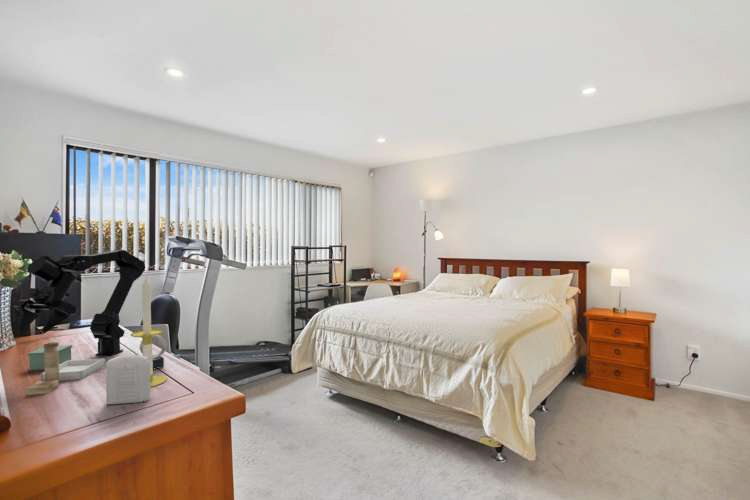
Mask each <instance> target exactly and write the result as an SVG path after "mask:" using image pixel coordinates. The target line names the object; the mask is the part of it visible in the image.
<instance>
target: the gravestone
mask: <svg viewBox="0 0 750 500" xmlns="http://www.w3.org/2000/svg"><path fill="white" fill-rule="evenodd" d="M105 373H106V374H105V378H106V380H105V381H106V383H105V384H106V386H105V387H106V388H105V389H106V390H105V391H106V392H105V393H106V394H105V395H106V404H107V405H118V404H131V403H142V402H143V401H144V402H147V400H148V401H149V400H150V399H151V387H150V359H149V357H146V356H143V355H142V354H141V355H140V354H125V355H120V356H117V357H113V358H111V359H109V360H108V361H107V363H106V368H105Z"/></svg>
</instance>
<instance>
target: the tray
mask: <svg viewBox="0 0 750 500" xmlns="http://www.w3.org/2000/svg"><path fill="white" fill-rule="evenodd" d="M103 367H105V358H103V357H102V358H86V359H71V360H68V361H66V362H64V363H62V364H60V365H59V382H60V381H72V380H82V379H85V378H86V377H88V376H90V375H92V374H93V373H94V372H96V371H97V370H99V369H101V368H103ZM40 381H45V371H43V372H41V373H40Z"/></svg>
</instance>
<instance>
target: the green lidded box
mask: <svg viewBox="0 0 750 500" xmlns="http://www.w3.org/2000/svg"><path fill="white" fill-rule="evenodd" d="M72 348H73V344H68V345H67V344H66V345H64V344H63V345H58V356H59V365H60V364H62V363H64V362H66V361H68V360H72ZM27 356H28V358H29V370H30V371H36V370H37V371H39V370H45V365H44V346H42V347H40V348H38V349H37V348H36V349H35V350H33V351H30V352H27Z"/></svg>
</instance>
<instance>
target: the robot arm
mask: <svg viewBox="0 0 750 500" xmlns="http://www.w3.org/2000/svg"><path fill="white" fill-rule="evenodd" d="M111 262H114V264H115V265H116V266H117V267H118V268H119V269H118V274H119V280H118V282H117V283H116V285H115V287H114V290H113V292H112V294H111V296H110V297H109V299H108V302H107V304H106V307H105V308H104V310H103V311H102V312H101V313H95V314H94V315H93V318H92V320H91V322H90V323H89V324H90V327H89V330H90V331H91V332H90V333H92V335H93V338H94V339H95V340H96V339H97V341H98V342H97V353H95V354H94V355H95V356H101V357H102V356H105V357H106V356H107V357H108V356H114V355H117V354H119V353H122V352H124V349H121V341H120V340H121V338H123V337H124V336H125V330H124V329H123V328H122V327H120V326H119V325H120V321H121V320H120V315H119V314H120V312H121V310H122V308H123V307H124V306H123V305H124V303H125V301H126V299H127V297H128V295H129V292H130V290H131V288H132V286H133V284H134V282H135V281H137V280H139V278H140V277H141V276H142V274H143V273H144V271H145V269H146V264H145V262H144V261H143V260H142V259H140V258H139V257H137V256H134V255H132V254H131V253H129V252H128V251H127V250H125V249H113V250H111V251H110V250H109V251H103V252H99V253H98V252H97V253H93V254H66V255H63V256H61V258H60V259H59V260H54V259H52V258H51V257H49V255H40V256H39V258H36V259H35V260H33V261H32V262H31V263H29V264H28V266H27V269H26V271H27V272H28V273H29V274H31V275H33V276H35V277H36V278H38V279H39V280H42V281H43V282H49V283H48V285H39V286H38V288H36V287H35V288H34V287H22V289H21V293H20V299H19V300H17V301H16V302H15V303H14V305H13V307H14V308H15V309H16V310H17V311H18V312H19V322H18V327H17V332H19V333H23V332H24V331H25V330H26V329H27V328H28V327H29V326H30V325H31V324H32V323H33V322H34V321H35V320H36V319H37V318H38V317H39V316H40V313H41V312H42V311H48V314H49V315H48V317H47V319H46V320H45V323H44V325H43V327H42V329H41V333H43V334H46V333H48V332H49V331H50V330H52V329H53V328H55V327H56V326H58V325H59V324H60V323H62V322H63V321H65V320H67V319H68V318H71V317H72V316H76V314H77V312H78V306H77V305H75V304H73V303H72V302H70V301H67V300H64V299H65V298H69V297H70V295H71V294H70V293H69V291H70V289H71V288H72V286H73V284H74V283H81V282H82V278H81V275H80V274H78V273H77V274H76V273H73V272H84V271H86V270H89V269H91V268H92V267H93V266H96V265H101V264H106V263H111ZM31 299H32V300H31Z"/></svg>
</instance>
